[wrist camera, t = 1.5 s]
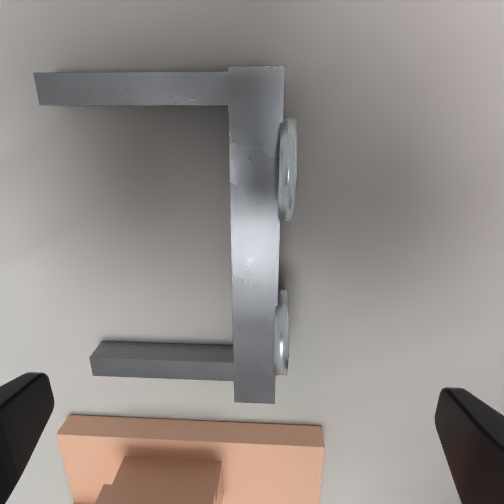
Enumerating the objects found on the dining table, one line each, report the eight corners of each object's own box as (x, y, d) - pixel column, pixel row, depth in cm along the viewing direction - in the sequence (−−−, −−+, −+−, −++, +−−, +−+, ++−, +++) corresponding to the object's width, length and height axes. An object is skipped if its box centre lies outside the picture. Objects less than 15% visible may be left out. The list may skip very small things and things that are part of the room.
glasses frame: (294, 75, 15) (301, 60, 11) (283, 364, 20) (285, 423, 16) (54, 76, 16) (-19, 62, 12) (104, 358, 21) (66, 413, 17)
